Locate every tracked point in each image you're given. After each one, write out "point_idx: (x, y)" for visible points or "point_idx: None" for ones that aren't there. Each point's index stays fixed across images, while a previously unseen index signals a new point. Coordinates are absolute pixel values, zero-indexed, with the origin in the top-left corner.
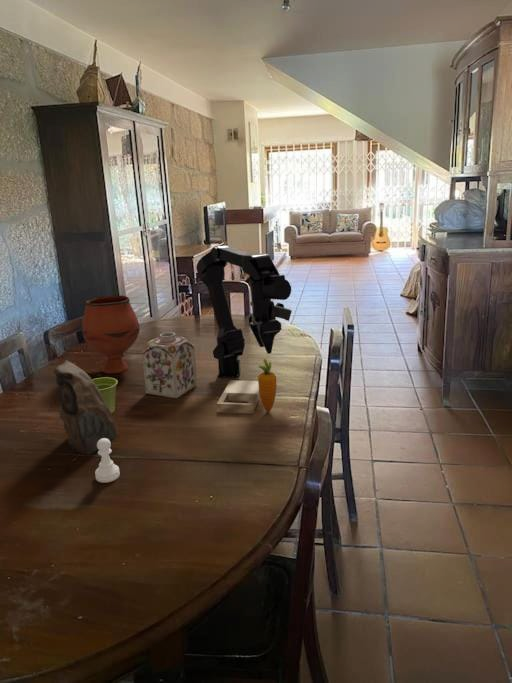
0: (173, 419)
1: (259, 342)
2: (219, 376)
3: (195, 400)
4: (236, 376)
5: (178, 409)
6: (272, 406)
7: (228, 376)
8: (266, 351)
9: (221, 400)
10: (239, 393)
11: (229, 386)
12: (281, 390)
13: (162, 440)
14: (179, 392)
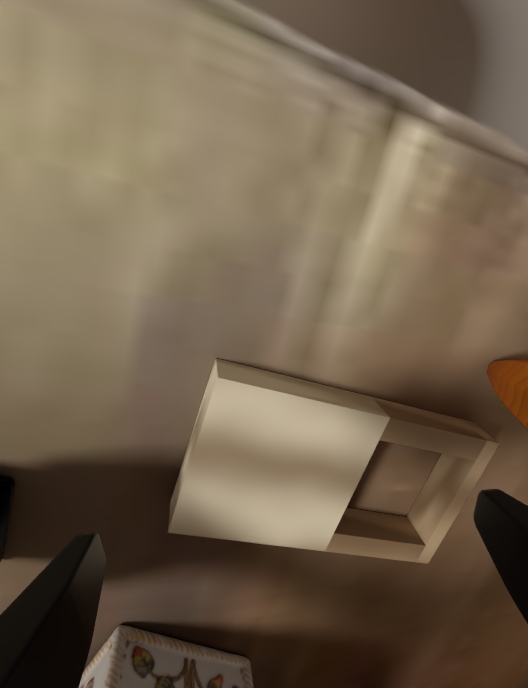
0: (410, 635)
1: (87, 638)
2: (2, 556)
3: (281, 604)
4: (9, 481)
5: (342, 636)
6: (524, 359)
7: (8, 518)
8: (494, 551)
9: (406, 551)
10: (353, 490)
11: (256, 532)
12: (261, 258)
13: (520, 633)
14: (232, 672)
